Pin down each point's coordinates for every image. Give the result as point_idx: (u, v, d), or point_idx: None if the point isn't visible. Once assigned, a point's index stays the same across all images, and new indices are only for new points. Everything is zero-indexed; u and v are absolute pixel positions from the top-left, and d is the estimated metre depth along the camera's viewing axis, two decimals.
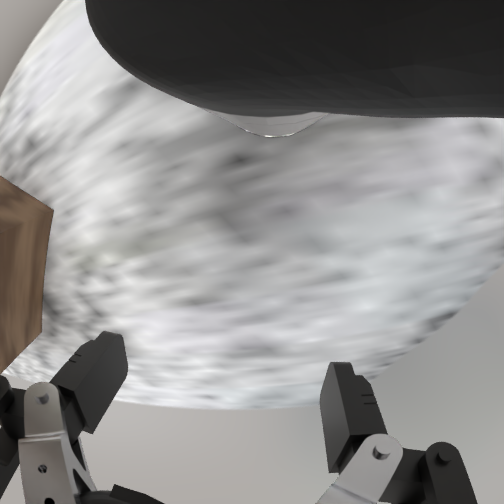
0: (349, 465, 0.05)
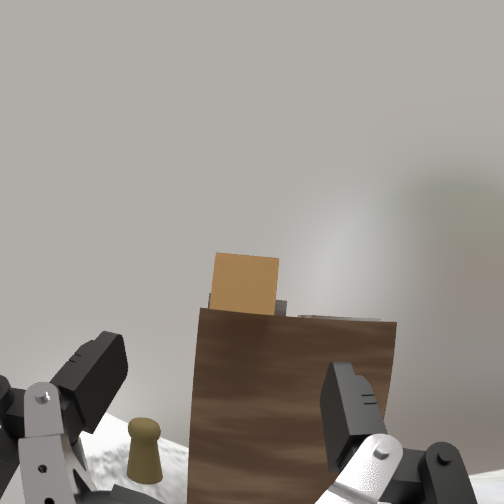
0: (349, 465, 0.05)
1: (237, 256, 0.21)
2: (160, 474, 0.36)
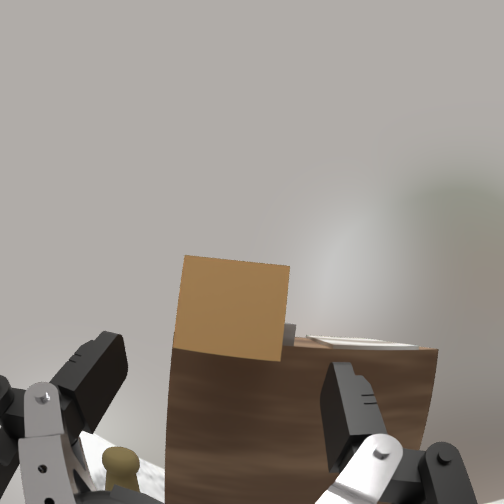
0: (349, 465, 0.05)
1: (220, 262, 0.13)
2: None
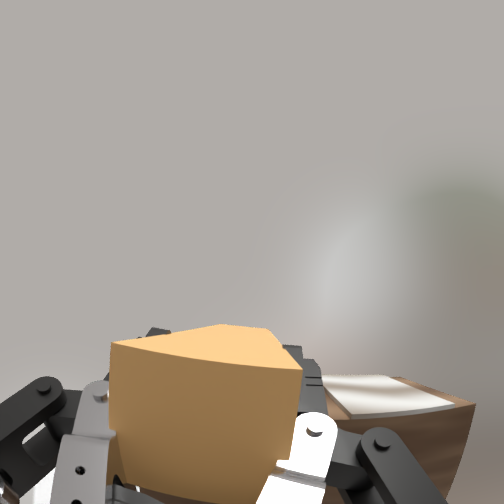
0: None
1: (172, 361, 0.06)
2: None
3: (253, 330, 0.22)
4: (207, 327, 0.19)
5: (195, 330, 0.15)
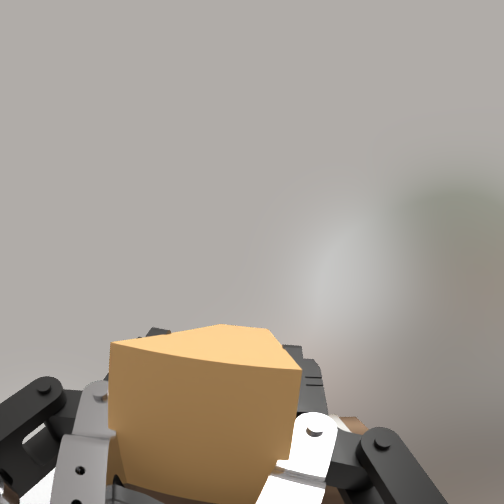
0: None
1: (171, 361, 0.06)
2: None
3: (253, 330, 0.22)
4: (207, 327, 0.19)
5: (195, 330, 0.15)
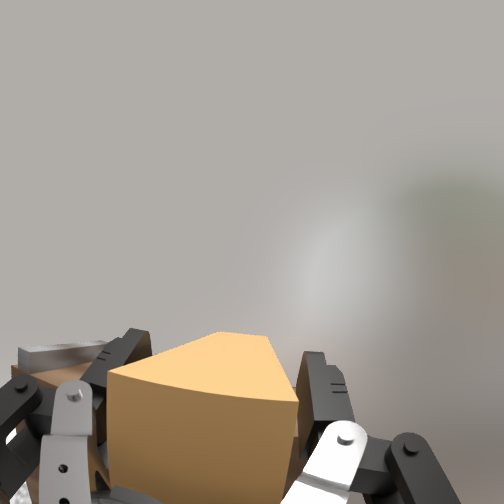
0: (314, 454, 0.06)
1: (168, 391, 0.06)
2: None
3: (251, 339, 0.22)
4: (205, 338, 0.19)
5: (193, 343, 0.15)
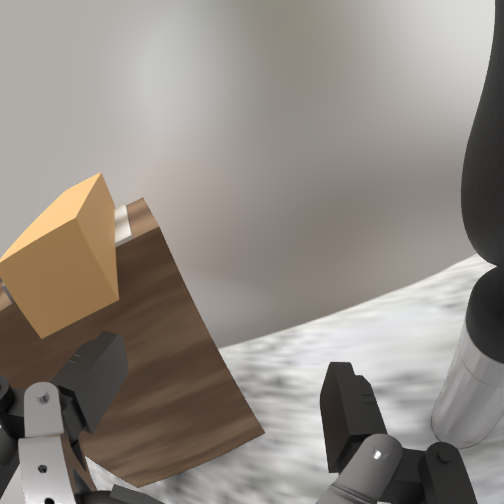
0: (349, 465, 0.05)
1: (21, 253, 0.09)
2: None
3: (85, 183, 0.23)
4: (51, 204, 0.20)
5: (40, 215, 0.16)
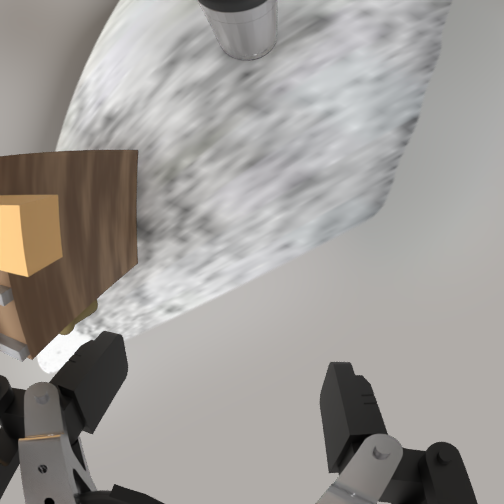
0: (349, 465, 0.05)
1: (25, 252, 0.14)
2: None
3: None
4: None
5: None
